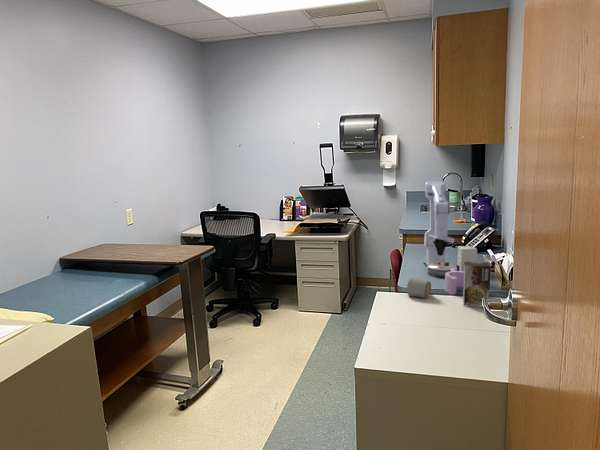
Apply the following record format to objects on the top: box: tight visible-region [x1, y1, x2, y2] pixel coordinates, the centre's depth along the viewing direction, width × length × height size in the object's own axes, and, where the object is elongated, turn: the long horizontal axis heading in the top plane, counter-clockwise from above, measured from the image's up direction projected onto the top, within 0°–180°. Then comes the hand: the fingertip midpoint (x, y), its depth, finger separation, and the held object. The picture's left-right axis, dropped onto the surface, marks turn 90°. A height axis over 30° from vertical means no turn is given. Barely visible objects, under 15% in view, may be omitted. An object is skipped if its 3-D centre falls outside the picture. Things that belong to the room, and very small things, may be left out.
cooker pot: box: [424, 262, 460, 279], centre depth 209 cm, size 14×18×4 cm
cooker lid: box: [426, 261, 457, 271], centre depth 209 cm, size 14×14×2 cm
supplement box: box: [457, 245, 478, 271], centre depth 212 cm, size 7×7×13 cm
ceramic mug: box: [406, 276, 432, 299], centre depth 176 cm, size 11×8×8 cm
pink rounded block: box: [444, 268, 464, 296], centre depth 185 cm, size 20×12×7 cm, turn 161°
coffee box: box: [462, 261, 492, 308], centre depth 164 cm, size 9×6×16 cm
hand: (440, 255), depth 207 cm, fingers closed
